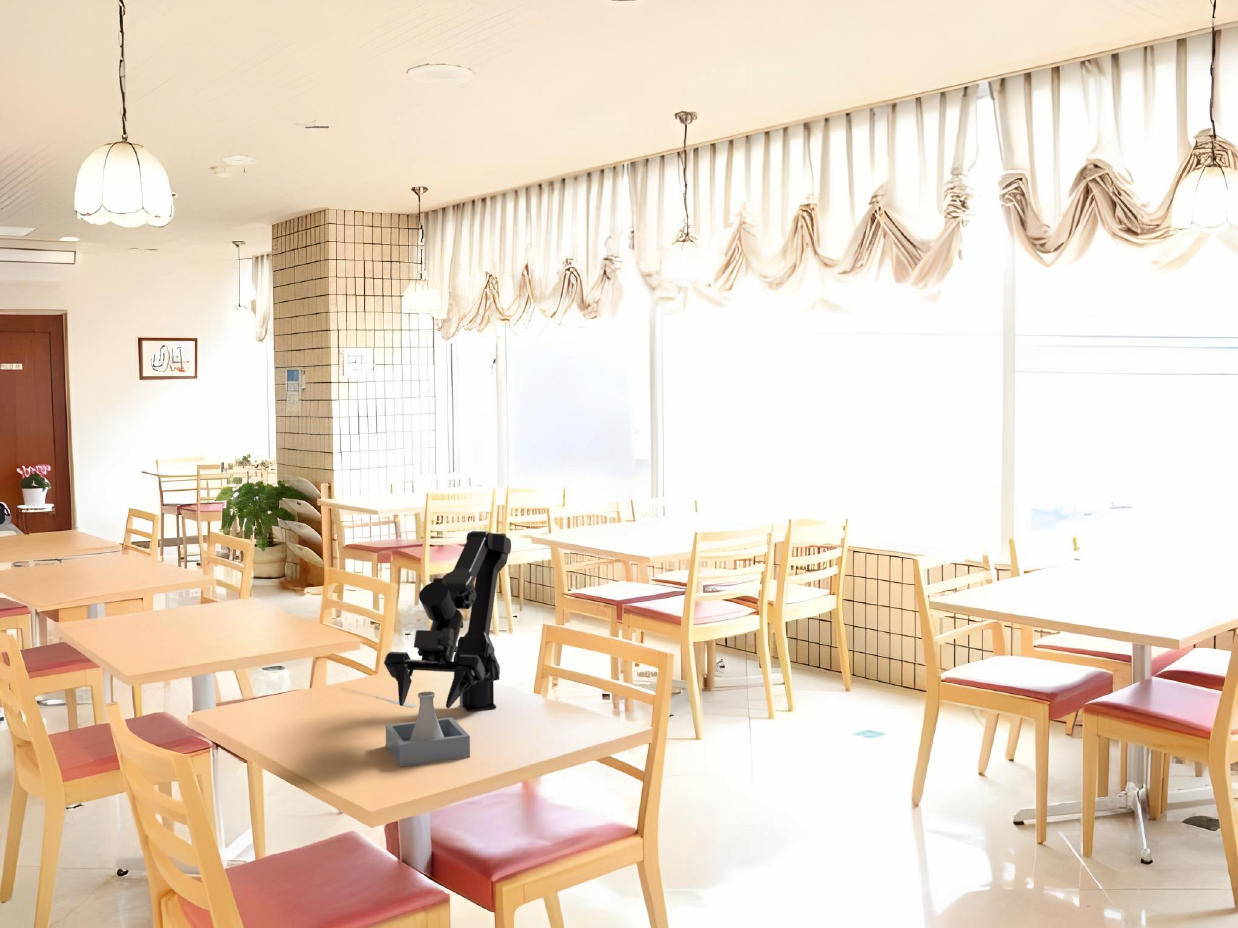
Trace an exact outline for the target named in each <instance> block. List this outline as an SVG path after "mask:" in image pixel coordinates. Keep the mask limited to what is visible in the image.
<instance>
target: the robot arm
mask: <svg viewBox="0 0 1238 928" xmlns="http://www.w3.org/2000/svg"><path fill="white" fill-rule="evenodd" d="M465 540H466V542H465V544H464V546H463V548H462V550H461V553H460V555H459V557H458V559H457V561H456V563H455V566H454V568H453V569H452V570H451V571H450V572H448V573H446V574H444V575H443V576H442V577H440V578H438V577H434V578H433V581H432V582H430V583H427V584H426V585H424V586H423V588H422V589H420V591H419V593H418V599H419V601H420V603H421V606H422V608H423V609H424V612H425V614H426V616H427V617H428V619H429V620H430V621H431V625H430V628H429V630H427V629H425V630H423V629H418V630H417V629H416V630H415V636H414V641H413V642H414V643H413V648H414V649H416V648H417V655H418V656H419V657H421V659H411V657H410V656H409V654H408V652H405V651H390V652H388V653H387V654H386V655H385V658H384V661H383V664H384V666H385V668H386V670H387V671H388V673H389V675H390V676H391V678H394V679H395V680H396V681H397V689H398V690H397V692H398V701H399V704H400V705H399V706H401V707H404V706H403V704H404V702H406V701H407V697H408V694H409V691H410V687H411V684H412V682H413V681H412V676H413V673H414V671H426V672H427V671H428V672H443V673H453V679H452V682H451V686H450V687H449V692H448V694H447V698H446V702H445V707H446V709H450V708H451V707H452V706H453V704H455V703H456V701H457V700H459V704H460V706H461V707H462V708H463V709H464V710H465V711H466V712H475V711H476V712H477V711H482V710H491V709H496V708H497V705H496V704H495V703H494V702H495V700H494V698H495V697H494V696H495V695H494V693H495V692H494V690H495V689H494V687H495V686H494V682H495V681H499V680H500V674H501V667H500V664H499V661H498V659H497V657H496V654H495V647H494V645H493V643H492V641H491V637H490V633H491V632H490V631H491V624H492V617H493V611H494V604H495V597H496V590H497V580H498V575H499V573H500V572H501V571H502V570H503V569H504V567H505V566H506V565H507V563H508V558H509V557H508V556H509V555H510V554H511V551H512V541H511V539H510V537H507V534H506V533H497V532H494V533H493V532H489V531H486V530H482V531H480V530H479V531H478V530H471V531H469V532H467V535H466V539H465ZM469 609H470V615H469V623H468V627H467V628H468V629H467V632H466V633H465V634H464V636H459V634H460V632H461V629H463V628H464V621H463V620H464V616H463V614H462V613H461V611H460V610H469Z"/></svg>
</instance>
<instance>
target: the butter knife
mask: <svg viewBox="0 0 1238 928" xmlns="http://www.w3.org/2000/svg"><path fill="white" fill-rule="evenodd" d="M377 699H380V700H382V699H383V701H386V702H389V701H390V702H389V703H392V702H393V704H395V703H396V705H398V704H399V699H398V700H397V699H392V698H387V697H383V696H379V698H377ZM398 706H400V704H399V705H398ZM402 707H406V708H417V704H414V703H411V702H406V701H405V702H404V704H403V706H402Z"/></svg>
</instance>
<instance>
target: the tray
mask: <svg viewBox="0 0 1238 928" xmlns="http://www.w3.org/2000/svg"><path fill="white" fill-rule="evenodd" d="M437 720H438V722H439V725H440V728H441V731H442V733H443V736H444V738H437V739H429V740H421V741H413V742H409V741H410V738H411V735H412V732H413V729H414V726H415V723H416V721H410V722H401V723H394V724H393V723H392V724H386V725H385V746H386V748H387V750H388V751H389V752H390V754H391V755H392V757H393V758H394V760H395V761H396V763H397V764H398V766H399V767H400V768H401V767H408V766H415V765H423V764H431V763H436V762H437V763H438V762H444V761H451V760H458V759H459V760H460V759H465V758H470V757H471V743H470V742H471V739H470V737H471V736H470V735H469V733H468V732H467V731H466V730H465V729H464V728H463V727H462V726H461V725H460V724H459V723H458V722H457V721H456V720H455V719H454V718H453V717H451V716H450V717H443V718H437Z"/></svg>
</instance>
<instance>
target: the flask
mask: <svg viewBox="0 0 1238 928" xmlns="http://www.w3.org/2000/svg"><path fill="white" fill-rule="evenodd" d="M435 694H436V693H435V692H433V691H421V692H418V694H417V697H418V699H419V707H418V714H417V717H416V720H415V722H416V723H415V726H414V729H413V732H412V735H411V738H410V741H409V742H413V741H421V740H429V739H437V738H444V736H443V733H442V731H441V728H440V725H439V722H438V720H437V719H438V717H437V714H436V711H435V706H434V698H435Z"/></svg>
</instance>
